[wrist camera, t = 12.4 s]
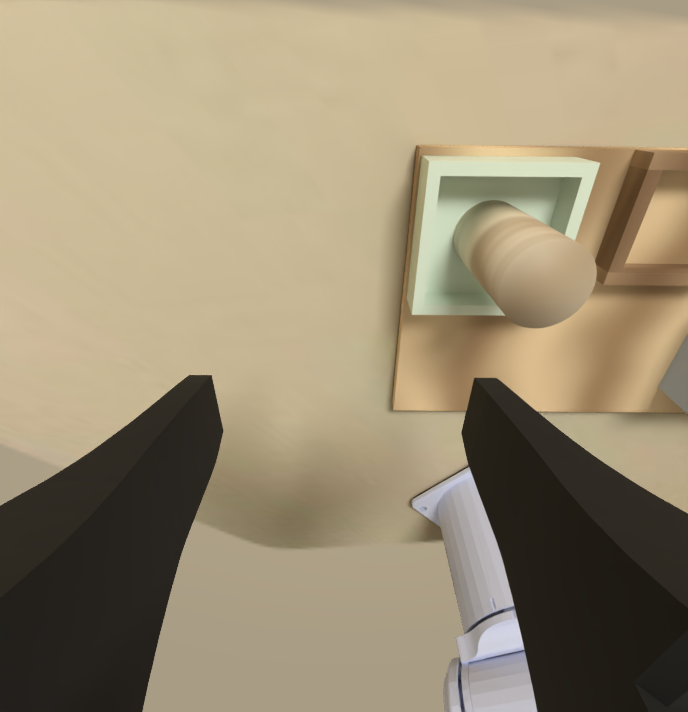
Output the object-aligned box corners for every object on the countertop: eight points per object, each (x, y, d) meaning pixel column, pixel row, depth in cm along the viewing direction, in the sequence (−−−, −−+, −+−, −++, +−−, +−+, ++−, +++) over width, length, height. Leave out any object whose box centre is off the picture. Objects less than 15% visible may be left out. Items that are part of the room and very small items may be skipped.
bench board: (1003, 151, 17) (1075, 157, 15) (796, 405, 25) (830, 427, 23) (416, 145, 17) (424, 150, 15) (392, 401, 24) (395, 423, 23)
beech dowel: (534, 235, 18) (613, 286, 13) (479, 280, 19) (530, 344, 14) (496, 184, 17) (566, 217, 11) (439, 236, 18) (480, 287, 13)
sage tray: (576, 156, 16) (600, 163, 15) (534, 299, 20) (550, 315, 18) (421, 155, 16) (429, 161, 15) (406, 298, 20) (411, 314, 18)
